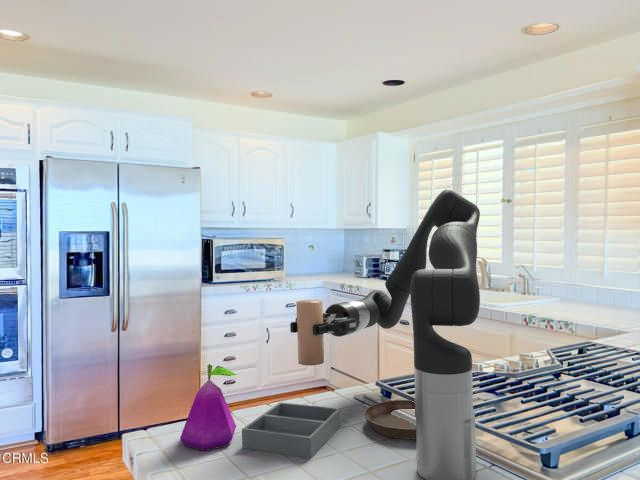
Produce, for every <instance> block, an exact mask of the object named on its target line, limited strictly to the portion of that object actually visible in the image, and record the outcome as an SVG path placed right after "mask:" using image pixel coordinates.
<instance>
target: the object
mask: <svg viewBox="0 0 640 480" xmlns="http://www.w3.org/2000/svg"><path fill="white" fill-rule="evenodd" d="M398 409H415V403H414V402H412V401H410V399H396V400H387V401H381V402H377V403H375V404H372V405H370V406H368V407H367V408H365V410H364V412H363V415H364V418H365V420H366V421H367V422H368V423H369V425H370V426H371V427H372V428H373V429H374V430H375V431H376V432H378V433H379V434H381V435H383V436H386V437H390V438H394V439H400V440H416V425H414V424H413V423H410V422H409V421H407V420H405V419H402V418H399V417H397V416H395V415H392V414H391V412H392V411H394V410H398Z"/></svg>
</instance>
